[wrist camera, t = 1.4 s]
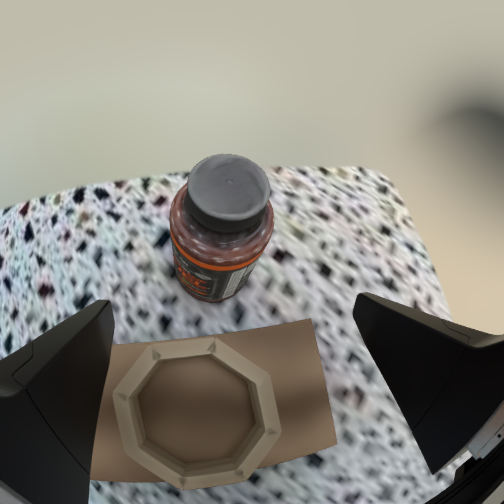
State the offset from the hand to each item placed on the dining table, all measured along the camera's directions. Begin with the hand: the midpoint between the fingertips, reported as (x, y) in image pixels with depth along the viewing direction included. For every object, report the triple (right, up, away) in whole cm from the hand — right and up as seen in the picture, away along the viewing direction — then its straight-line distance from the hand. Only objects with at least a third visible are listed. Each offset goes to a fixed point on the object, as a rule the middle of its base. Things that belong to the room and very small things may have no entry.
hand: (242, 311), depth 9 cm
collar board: (-4, -10, +8) cm, 13 cm away
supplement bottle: (-3, 0, +14) cm, 14 cm away
